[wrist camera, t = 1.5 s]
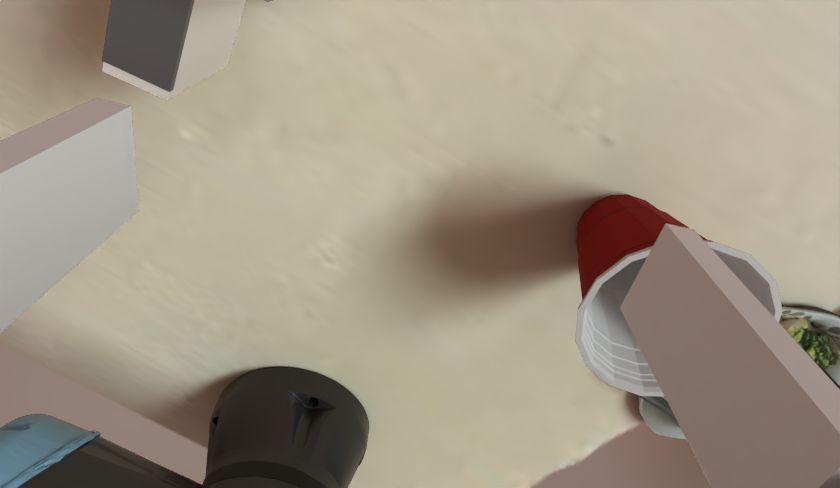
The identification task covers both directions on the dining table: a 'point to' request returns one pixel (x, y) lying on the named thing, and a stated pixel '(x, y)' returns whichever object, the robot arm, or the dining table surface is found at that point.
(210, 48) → the white rectangular block
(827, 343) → the salad plate
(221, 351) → the dining table surface
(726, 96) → the dining table surface
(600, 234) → the plastic cup
